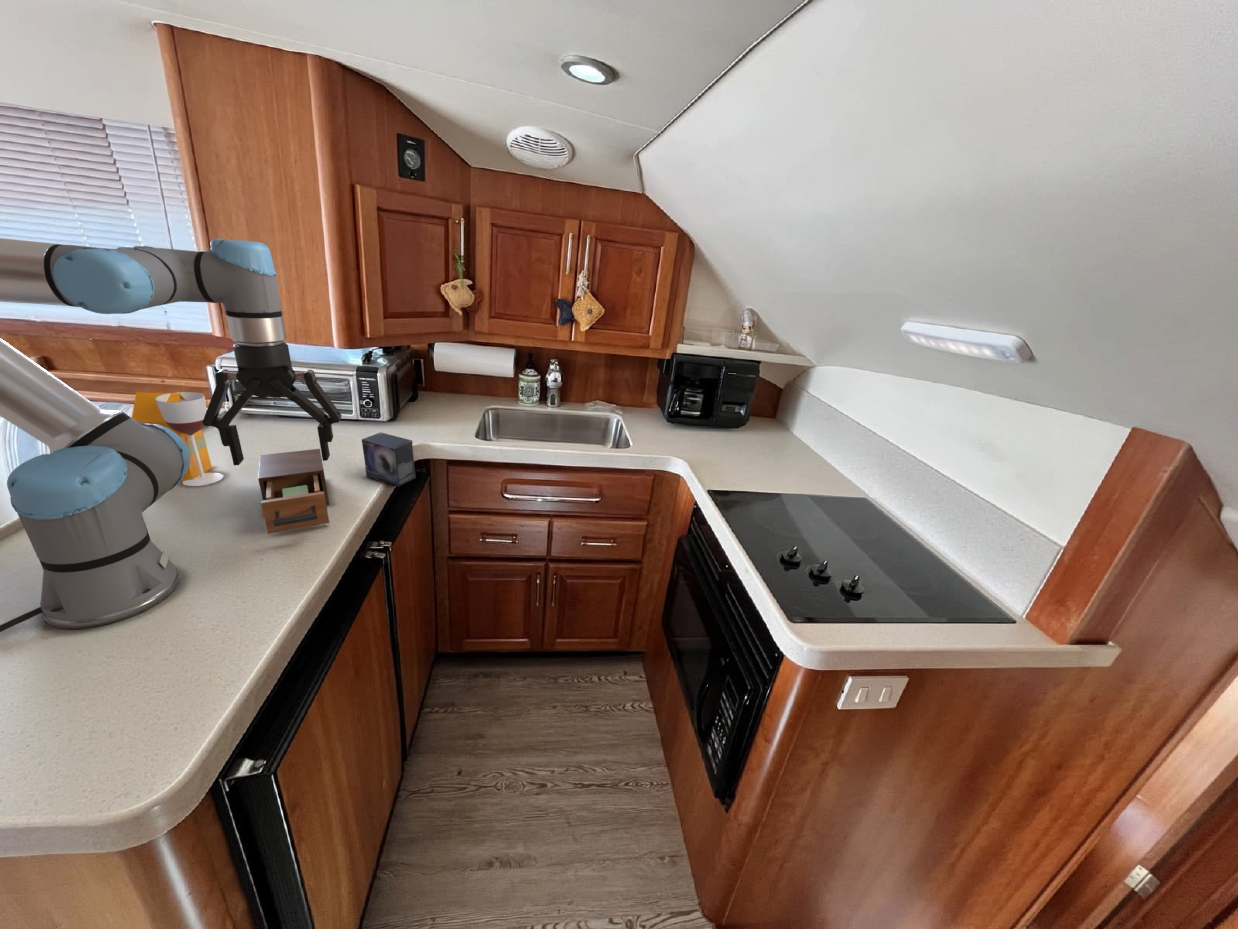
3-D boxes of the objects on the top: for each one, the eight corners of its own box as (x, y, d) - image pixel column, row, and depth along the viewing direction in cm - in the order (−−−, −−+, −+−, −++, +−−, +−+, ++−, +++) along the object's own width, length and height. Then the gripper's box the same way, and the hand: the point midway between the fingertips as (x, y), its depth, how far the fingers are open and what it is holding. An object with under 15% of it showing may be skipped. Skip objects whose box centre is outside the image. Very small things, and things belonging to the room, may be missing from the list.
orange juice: (172, 467, 120) (148, 387, 112) (212, 467, 121) (191, 389, 113) (149, 481, 113) (122, 396, 105) (193, 481, 114) (169, 398, 106)
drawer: (331, 534, 97) (325, 504, 94) (267, 546, 91) (260, 514, 89) (325, 497, 110) (320, 470, 108) (269, 506, 105) (262, 477, 102)
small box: (364, 477, 123) (359, 438, 119) (384, 469, 128) (380, 431, 124) (397, 487, 119) (393, 447, 115) (417, 478, 125) (413, 439, 121)
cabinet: (329, 505, 109) (323, 470, 106) (266, 515, 103) (257, 478, 100) (325, 481, 119) (319, 448, 116) (267, 489, 113) (260, 455, 110)
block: (287, 516, 100) (282, 497, 98) (285, 507, 103) (281, 488, 101) (312, 512, 102) (308, 493, 100) (310, 503, 105) (306, 484, 103)
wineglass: (197, 489, 111) (172, 404, 103) (171, 481, 113) (146, 397, 106) (233, 476, 118) (213, 396, 110) (208, 469, 120) (187, 390, 112)
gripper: (348, 340, 89) (362, 449, 97) (176, 336, 80) (207, 456, 88) (342, 347, 82) (357, 463, 90) (154, 344, 74) (190, 472, 82)
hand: (283, 460), depth 89 cm, fingers open, 13 cm apart
